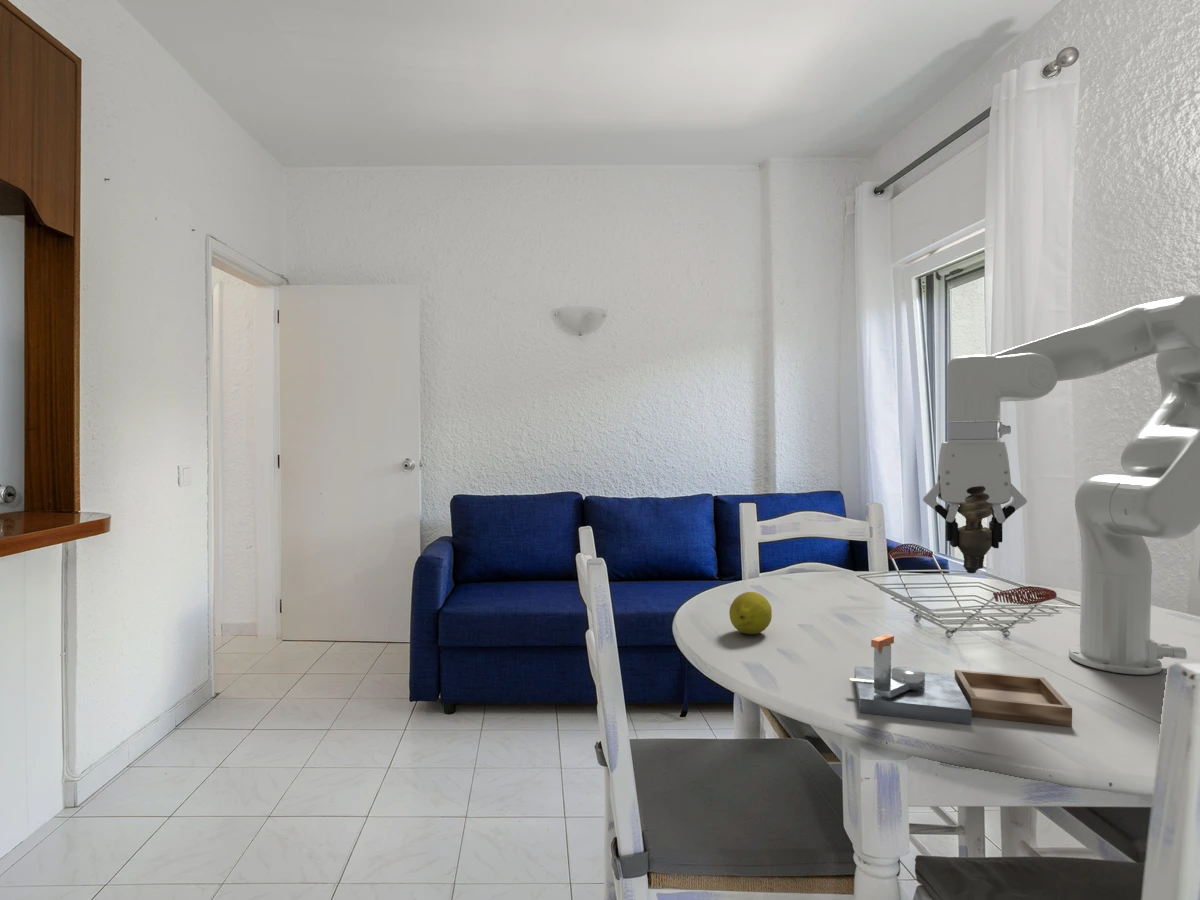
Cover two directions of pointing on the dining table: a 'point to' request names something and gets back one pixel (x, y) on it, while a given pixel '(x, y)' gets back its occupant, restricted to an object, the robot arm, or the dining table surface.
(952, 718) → the crank base
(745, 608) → the lemon
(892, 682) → the crank
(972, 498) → the light bulb
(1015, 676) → the tray
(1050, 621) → the dining table surface
